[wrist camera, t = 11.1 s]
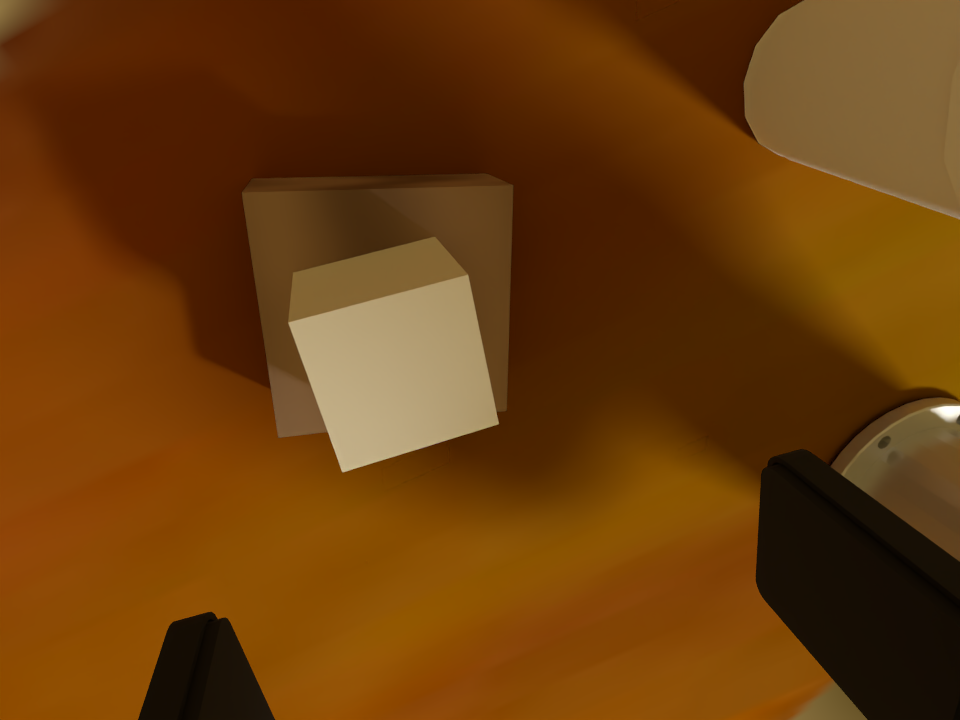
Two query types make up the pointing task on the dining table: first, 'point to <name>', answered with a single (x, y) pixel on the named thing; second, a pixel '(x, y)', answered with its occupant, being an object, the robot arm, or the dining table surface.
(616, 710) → the dining table surface
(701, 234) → the dining table surface
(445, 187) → the walnut base
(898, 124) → the foam cup
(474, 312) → the cream cube
